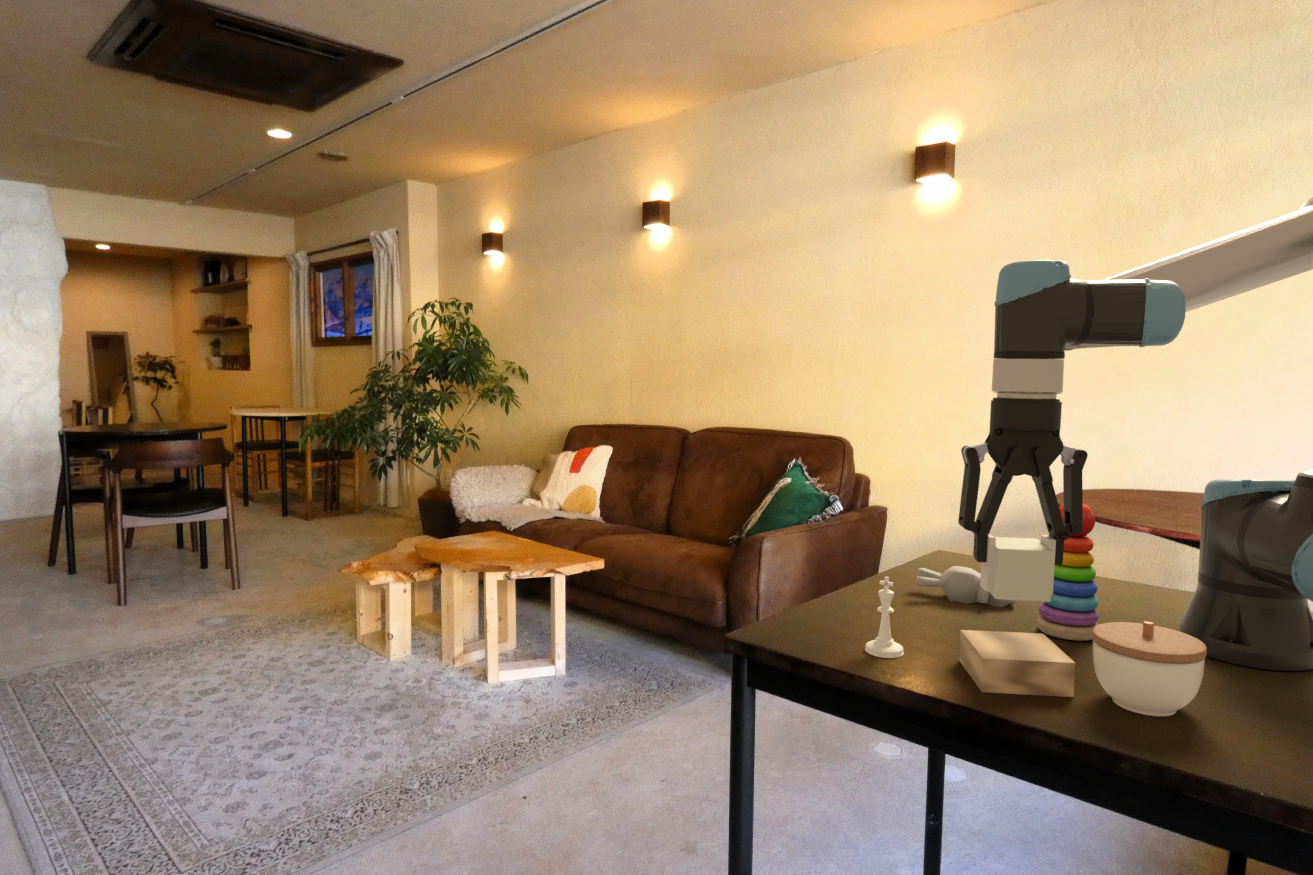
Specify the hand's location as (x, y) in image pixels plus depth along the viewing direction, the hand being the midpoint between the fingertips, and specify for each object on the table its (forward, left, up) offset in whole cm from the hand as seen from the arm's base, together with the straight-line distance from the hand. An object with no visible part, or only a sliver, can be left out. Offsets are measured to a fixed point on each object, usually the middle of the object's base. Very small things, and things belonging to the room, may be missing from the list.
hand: (1015, 589), depth 94 cm
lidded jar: (-12, +6, -11) cm, 17 cm away
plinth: (0, 0, -11) cm, 11 cm away
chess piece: (+14, -7, -11) cm, 19 cm away
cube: (0, 0, 0) cm, 0 cm away
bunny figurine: (-3, -33, -11) cm, 35 cm away
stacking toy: (-13, -18, -11) cm, 25 cm away
